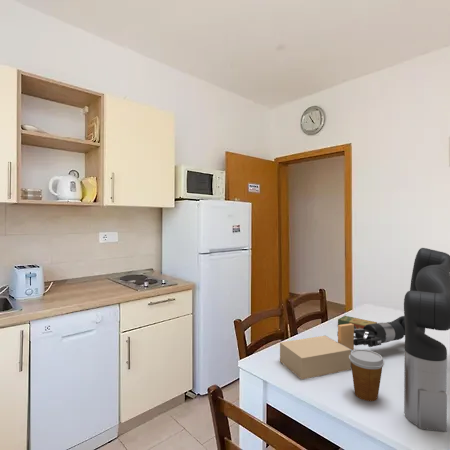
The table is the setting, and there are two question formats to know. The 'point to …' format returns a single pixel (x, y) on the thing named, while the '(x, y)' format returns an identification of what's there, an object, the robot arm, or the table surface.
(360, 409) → the table surface
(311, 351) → the box lid
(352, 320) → the carton
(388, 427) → the table surface
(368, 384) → the disposable coffee cup
